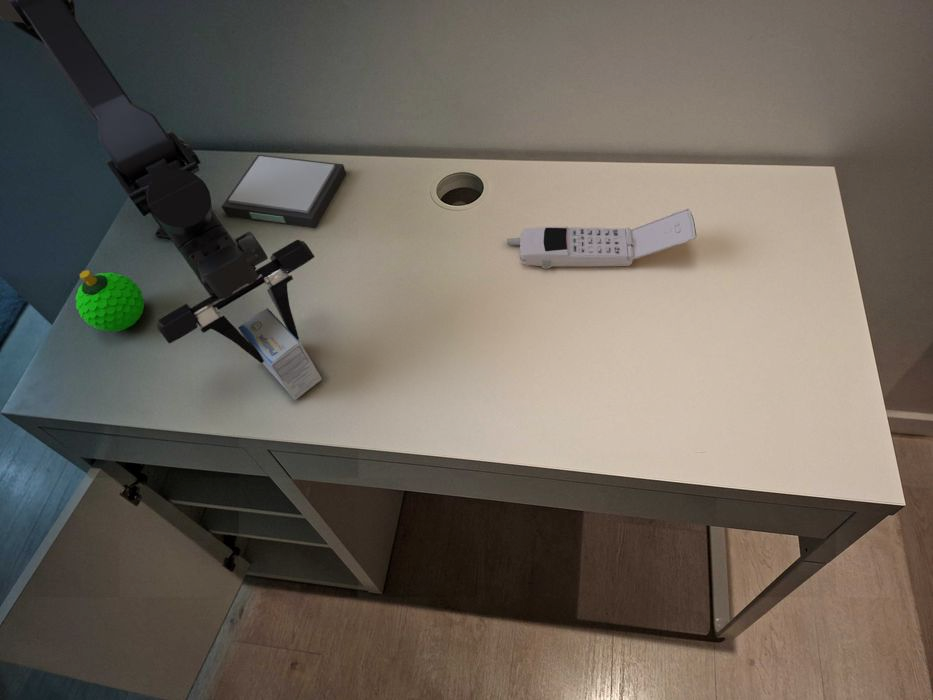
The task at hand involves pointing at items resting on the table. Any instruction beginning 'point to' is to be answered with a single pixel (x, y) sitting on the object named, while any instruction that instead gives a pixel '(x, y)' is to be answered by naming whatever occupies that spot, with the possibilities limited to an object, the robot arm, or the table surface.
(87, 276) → the ornament
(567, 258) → the mobile phone
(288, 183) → the kitchen scale
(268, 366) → the medicine box
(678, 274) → the table surface
